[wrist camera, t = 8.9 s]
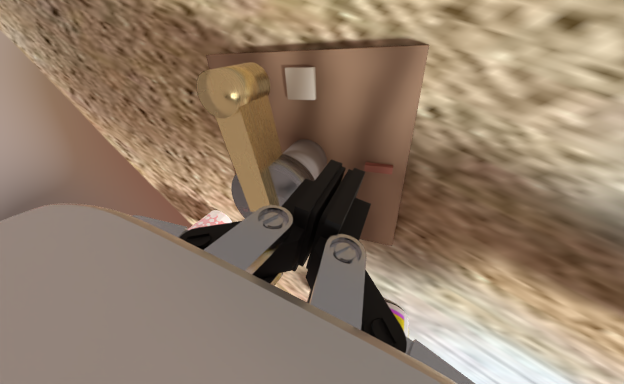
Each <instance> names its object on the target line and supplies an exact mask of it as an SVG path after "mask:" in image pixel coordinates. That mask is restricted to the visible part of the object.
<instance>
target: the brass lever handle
mask: <svg viewBox="0 0 624 384" xmlns="http://www.w3.org/2000/svg"><path fill="white" fill-rule="evenodd" d="M197 93H198V97H199V99H200V101H201V103H202V105H203V106H204V108H205V109H206V110H207V111H208V112H209V113H210V114H211V115H213V116H215V117H216V120H217V123H218V126H219V128H220V131H221V134H222V136H223V139H224V142H225V144H226V147H227V150H228V152H229V155H230V158H231V160H232V163H233V166H234V168H235V171H236V175H235V177H234V179H233V181H232V196H233V199H234V202H235V204H236V206H237V208H238V210H239V211H240V213H241V214H242V215H243V217H244V218H245V219H246V218H247V217H248V216H250V215H251V214H252V213H254V212H255V211H256V210H258V209H259V208H261V207H263V206H267V205H277V206H282V205H283V204H284V203H285V202H286V200H287V199H288V198H289V197H290V196H291V195H292V193H293V192H294V191H295V190H296V189H297V188H298V186H299V185H300V184H301V183H302V182H303V181H304V180H305V179H309V180H312V181H315V179H314V178H313V176H312V174H311V173H310V171H309V170H308V169H307V168H306V167H305V166H304V165H303V164H302V163H300V162H299V161H298V160H296V159H294V158H293V157H291V156H288V155H286V154H282V150H281V146H280V142H279V138H278V134H277V130H276V126H275V122H274V118H273V114H272V110H271V106H270V102H269V98H268V96H269V93H270V80H269V77H268V75H267V73H266V72H265V70H264V69H263V68H262V67H261V66H260V65H258V64H256V63H252V62H249V63H243V64H238V65H232V66H227V67H221V68H216V69H210V70H206V71H204V72H202V73H201V74H200V75H199V77H198V80H197Z"/></svg>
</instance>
